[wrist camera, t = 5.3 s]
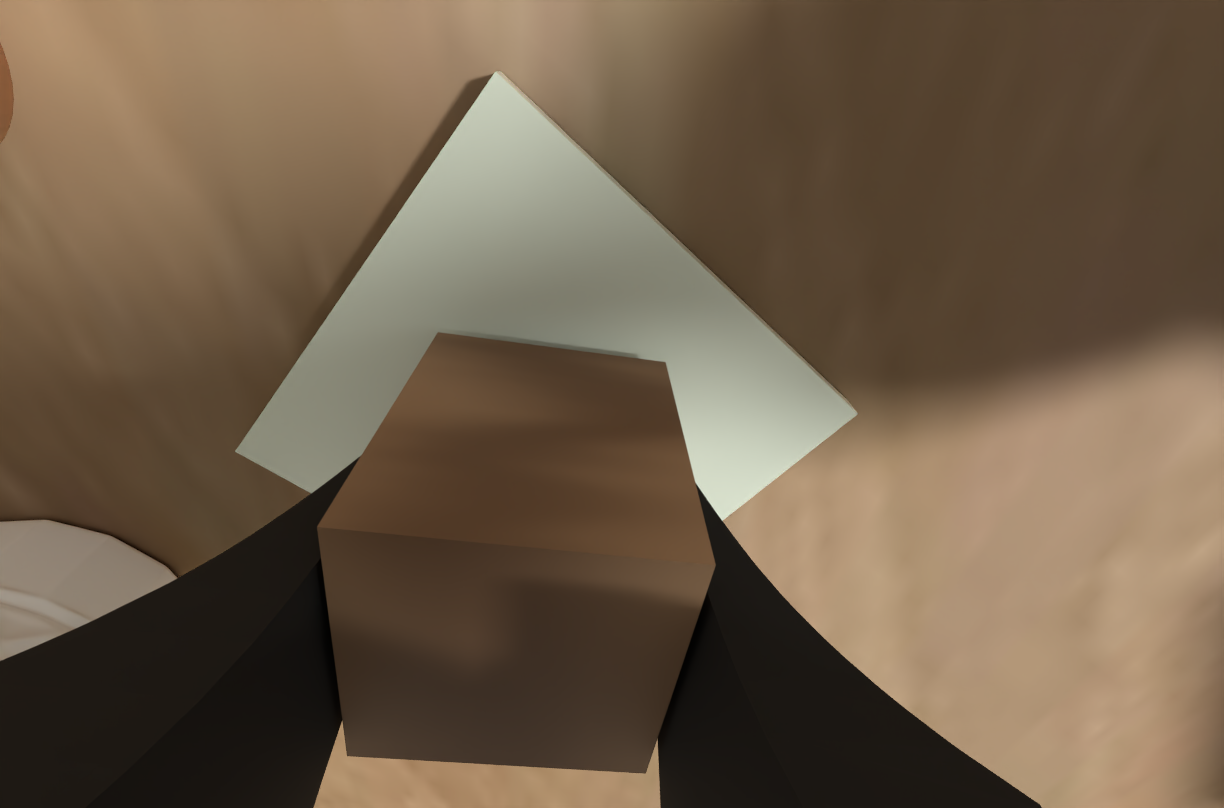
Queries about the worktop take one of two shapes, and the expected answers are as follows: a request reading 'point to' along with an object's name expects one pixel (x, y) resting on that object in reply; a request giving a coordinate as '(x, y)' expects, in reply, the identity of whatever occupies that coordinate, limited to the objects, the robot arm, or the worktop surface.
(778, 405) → the coaster
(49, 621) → the white cup
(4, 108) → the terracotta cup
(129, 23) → the worktop surface
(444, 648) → the walnut block
